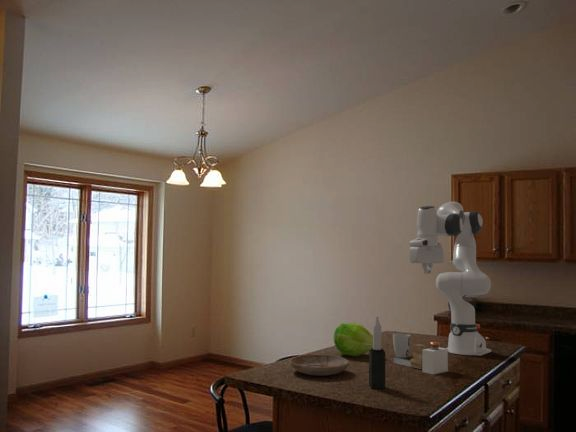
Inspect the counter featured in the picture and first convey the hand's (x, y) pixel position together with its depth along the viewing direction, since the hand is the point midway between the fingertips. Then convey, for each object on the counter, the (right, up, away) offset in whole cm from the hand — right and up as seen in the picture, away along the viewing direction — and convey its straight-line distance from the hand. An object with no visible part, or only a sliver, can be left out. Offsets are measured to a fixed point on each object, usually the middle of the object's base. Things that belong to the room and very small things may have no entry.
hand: (427, 273), depth 227 cm
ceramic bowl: (-49, -37, -22) cm, 65 cm away
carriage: (-7, -38, -11) cm, 40 cm away
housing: (-2, -38, -18) cm, 42 cm away
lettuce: (-31, -40, +13) cm, 52 cm away
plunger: (-2, -32, -17) cm, 37 cm away
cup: (-9, -40, +12) cm, 43 cm away
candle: (-30, -36, -43) cm, 64 cm away
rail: (-9, -39, -8) cm, 40 cm away
